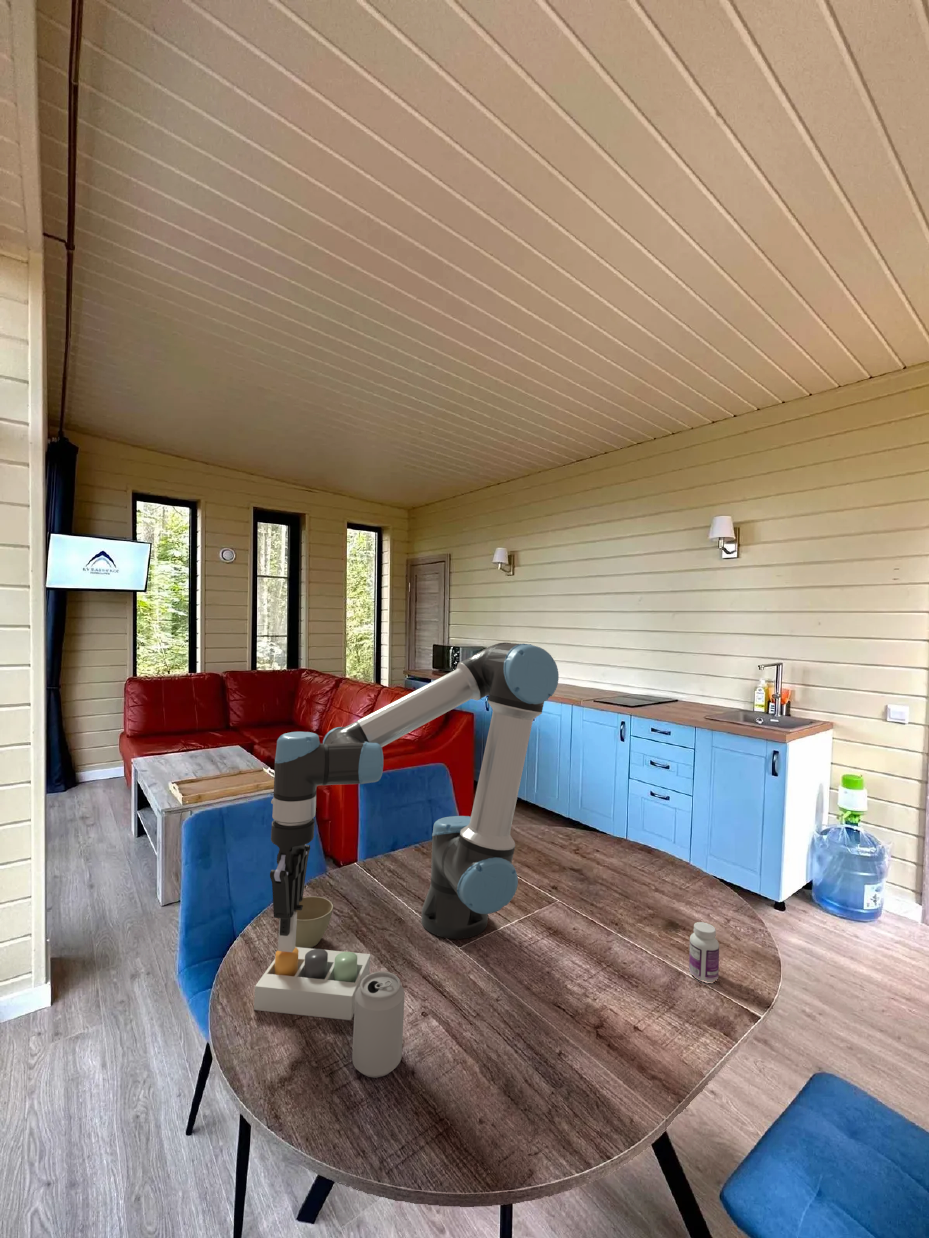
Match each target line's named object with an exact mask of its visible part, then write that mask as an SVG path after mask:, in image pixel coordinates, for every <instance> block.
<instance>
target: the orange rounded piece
mask: <svg viewBox="0 0 929 1238" xmlns="http://www.w3.org/2000/svg"><path fill="white" fill-rule="evenodd" d="M298 952H299V951H298V949H297V948H296V946H295V949H294V950H293V952H283V951H278V949H277V950H276V952H275V954H274V955H275V958H274V959H275V973H274V974H275V975H285V976H295V974H296V973H297V971H298Z"/></svg>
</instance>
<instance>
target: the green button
mask: <svg viewBox="0 0 929 1238" xmlns="http://www.w3.org/2000/svg"><path fill="white" fill-rule="evenodd" d="M355 953H356V952H353V951H342V953H340V954H338V955H337V956H336V957H335V964H334V981H344V982H354V983H355V982H356V978H357V955H356V954H355Z"/></svg>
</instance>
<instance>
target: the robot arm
mask: <svg viewBox="0 0 929 1238" xmlns="http://www.w3.org/2000/svg"><path fill="white" fill-rule="evenodd" d="M559 675H560V674H559V669H558V666H557V663H556V661H555V660H554V658H553V655H551V653H549V652H548V651H547V650H545V649H544V648H542V647H539V646H537V645H533V644H530V643H514V642H498V643H495V644H492V645H490V646H488V647H486V648H484V649H483V650H482V649H481V650H480V651H478V652H477V653H475V654H473V655H471V656H469V657H468V658H466V659H464V660H462V661H460V662H458V663H457V666H456V668H455V669H454V670H452V671H450V672H448V673H447V674H445V675H443V676H441V677H440V678H437V679H435V680H433V681H431V682H429V683H427V684H426V685H424V686H421V687H419V688H418V689H416V690H414V691H412V692H410V693H408V694H407V695H404V696H402V697H400V698H399V699H396V700H395V701H393V702H391V703H389V704H387V705H385V706H384V707H381V708H379V709H378V710H376V711H374V712H371V713H370V714H368V715H366V716H364V717H362V718H360V719H358V720H357V721H355V722H353V723H350V724H349V725H346V726H338V727H334V728H332V729H331V730H329V731H328V732H327V733H326V734H325V735H324V737H323V740H322V742H321V741H320V737H319V734H317V733H314V732H312V731H311V732H310V731H291V732H287V733H286V732H285V733H283V734H281V735H280V736H279V737H278V738H277V740H276V750H275V757H274V771H273V772H274V773H273V775H274V776H273V796H272V797H273V798H272V799H271V801H270V804H272V814H271V815H272V817H271V818H272V819H273V820H272V821H271V829H270V830H271V831H270V841H271V843H273V845H276V847H278V853H277V857H276V864H277V866H276V869H271V870H270V872H269V878H270V881H271V887H272V890H271V891H272V892H271V893H272V905H273V908H272V909H273V918H274V919H279V920H278V934H277V935H278V937H277V939H278V940H277V950H278V951H283V952H293V950H294V949H295V947H296V946H295V944H296V925H297V912H296V910H302V908H303V905H299V902H301V901H302V899H303V897H304V891H305V883H306V874H307V867H308V859H309V856H310V855H309V854H310V852H311V851H310V850H311V845H310V844H309V843H311V842H312V841H313V840H314V837H315V825H316V824H315V822H316V820H315V818H314V817H315V816H316V812H317V811H316V808H317V789H318V788H317V787H318V786H331V785H332V786H335V785H336V786H337V785H364V784H370V783H371V784H372V783H377V782H379V781H380V780H381V778H382V776H383V772H384V771H383V770H384V752H383V747H385V746H387V745H388V744H391V743H393V742H394V741H396V740H398V739H400V738H402V737H403V736H405V735H407V734H409V733H411V732H413V731H414V730H417V729H419V728H420V727H422V726H424V725H426V724H427V723H429V722H431V721H433V720H435V719H436V718H439V717H440V716H442V715H444V714H446V713H447V712H450V711H451V710H454V709H456V708H457V707H459V706H461V705H463V704H465V703H467V702H468V701H470V700H474V701H480V700H482V699H483V698H485V697H488V698H487V703H488V704H489V706H490V708H491V709H492V714H491V719H490V723H489V724H490V725H489V727H488V728H489V729H488V733H487V738H486V743H485V748H484V751H483V752H484V753H483V757H482V761H481V768H480V772H479V776H478V781H477V785H476V790H475V797H474V800H473V805H472V811H471V814H470V816H469V815H453V816H452V815H451V816H446V817H442V818H439V819H437V820H436V821H435V822H434V824H433V828H432V829H433V830H432V834H431V837H432V840H431V841H432V842H431V843H432V844H431V864H430V865H431V867H430V868H431V870H430V886H429V889H428V891H427V894H426V896H425V900H424V902H423V905H422V907H421V918H420V919H421V924H422V926H423V928H424V929H426V931H427V932H429V933H431V934H432V935H434V936H437V937H439V938H445V939H454V940H458V939H459V940H460V939H462V940H463V939H469V938H472V937H476V936H478V935H479V934H481V933H482V932H484V931H485V930H486V928H487V926H488V920H489V919H488V918H489V917H488V916H489V915H490V914H494V913H497V912H499V911H501V910H502V908H504V907H505V906H507V905H508V904H509V903H510V902H511V901H512V900H513V898H514V896H515V895H516V892H517V889H518V886H519V878H518V872H517V871H516V868H515V866H514V864H513V858H514V853H515V848H516V842H515V840H514V839H513V837H512V836H511V832H512V831H511V829H512V827H513V826H512V825H513V824H512V823H513V821H514V814H515V811H516V804H517V800H518V795H519V790H520V786H521V780H522V775H523V770H524V765H525V762H526V761H525V760H526V756H527V752H528V751H527V750H528V746H529V741H530V736H531V731H532V726H533V722H534V720H535V719H536V718H537V717H539V716H540V715H542V714H543V708H544V704H545V702H546V701H548V700H549V698H550V697H552V696H553V695H554V693H555V692H556V690H557V688H558V684H559V679H560V678H559Z"/></svg>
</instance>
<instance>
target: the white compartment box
mask: <svg viewBox="0 0 929 1238" xmlns="http://www.w3.org/2000/svg"><path fill="white" fill-rule="evenodd" d="M295 947H296V946H295ZM296 948H297V949H298V951H299V952H298V971H297V973H296V974H295V976H285V975H275V974H274V973H275V958H274V959H273V961H272V962H271V964H269V966H268V968H267V969H266V970H265V971H264V973H263V974H262V976H261V977H260V979H259V980H258V981H257V983H256V984H255V987H254V1001H253V1003H254V1004H253V1010H254V1011H260V1012H261V1011H262V1012H268V1013H270V1012H271V1013H279V1014H280V1013H281V1014H288V1015H289V1014H290V1015H299V1016H307V1017H317V1018H326V1019H335V1020H344V1021H352V1019H353V1017H354V1011H355V994H356V991H357V989H358V988H359V987H360V983H361V981H362V979H363V978H364V977H365V976H367V975H369V974H371V973H370V969H371V968H370V967H371V954H370V953H363V952H362V953H361V952H354V953H355V954H356V955H357V978H356V982H355V983H354V982H344V981H334V964H335V957H336V956H337V955H338V954H340V953H342V952H343V951H341V950H332V949H331V950H329V949H324V950H325V951H327V953H328V961H327V976H326V978H325V980H324V979H314V978H305V977H304V967H305V955H306V953H307V952H309V951H311V950H314V949H315V948H301V947H296Z"/></svg>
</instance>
